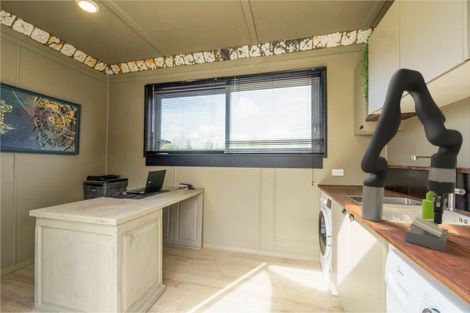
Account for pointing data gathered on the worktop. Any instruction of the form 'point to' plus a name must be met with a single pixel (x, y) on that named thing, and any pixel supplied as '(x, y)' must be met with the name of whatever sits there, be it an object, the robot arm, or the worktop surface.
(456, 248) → the worktop surface
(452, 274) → the worktop surface
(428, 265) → the worktop surface
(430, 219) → the block
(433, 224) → the block
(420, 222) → the block
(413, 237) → the switch box
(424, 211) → the soap dispenser
